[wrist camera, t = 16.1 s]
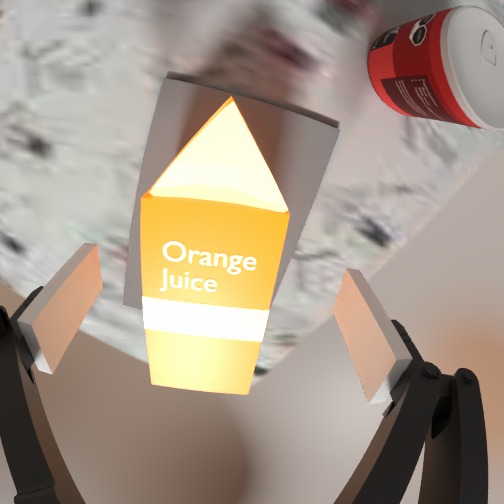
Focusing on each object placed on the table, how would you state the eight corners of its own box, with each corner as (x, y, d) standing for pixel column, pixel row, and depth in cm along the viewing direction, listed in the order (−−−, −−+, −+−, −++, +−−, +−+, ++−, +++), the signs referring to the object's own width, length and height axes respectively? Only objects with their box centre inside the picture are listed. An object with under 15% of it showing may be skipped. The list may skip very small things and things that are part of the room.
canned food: (427, 34, 17) (512, 19, 8) (441, 115, 21) (530, 133, 11) (355, 29, 18) (430, -9, 8) (372, 118, 21) (458, 133, 12)
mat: (337, 129, 22) (340, 129, 21) (257, 332, 30) (257, 335, 30) (166, 78, 19) (164, 77, 19) (124, 300, 28) (123, 304, 27)
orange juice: (149, 384, 20) (146, 87, 11) (167, 314, 28) (181, 95, 19) (250, 395, 21) (315, 107, 12) (246, 323, 29) (285, 108, 20)
